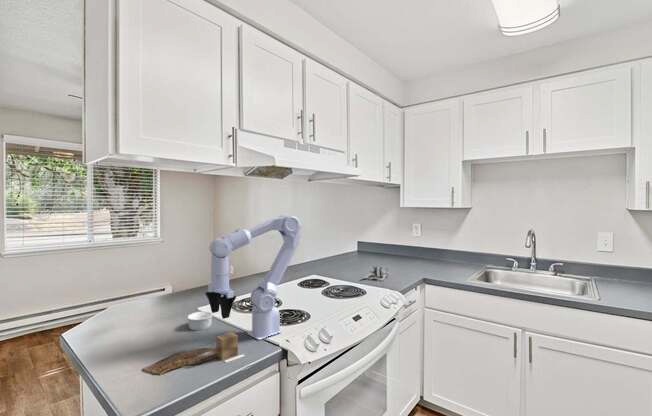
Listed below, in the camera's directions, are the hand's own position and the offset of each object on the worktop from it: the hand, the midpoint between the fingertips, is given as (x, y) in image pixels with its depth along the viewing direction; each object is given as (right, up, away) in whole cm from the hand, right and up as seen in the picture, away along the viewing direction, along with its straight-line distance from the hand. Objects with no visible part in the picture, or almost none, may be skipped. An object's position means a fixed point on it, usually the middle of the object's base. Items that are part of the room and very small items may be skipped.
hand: (220, 314), depth 105 cm
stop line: (+8, -10, -11) cm, 17 cm away
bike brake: (+67, -9, +92) cm, 114 cm away
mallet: (+2, -10, -11) cm, 15 cm away
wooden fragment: (-5, -10, -10) cm, 15 cm away
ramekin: (-13, -10, +15) cm, 22 cm away
